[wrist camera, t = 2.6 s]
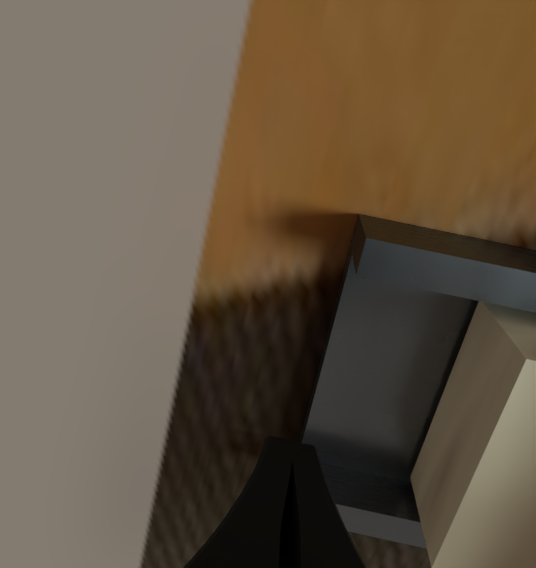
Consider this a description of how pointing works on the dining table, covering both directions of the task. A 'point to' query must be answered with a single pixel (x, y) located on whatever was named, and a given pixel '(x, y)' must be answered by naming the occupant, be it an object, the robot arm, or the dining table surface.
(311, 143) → the dining table surface
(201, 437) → the dining table surface
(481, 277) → the chute
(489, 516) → the block
